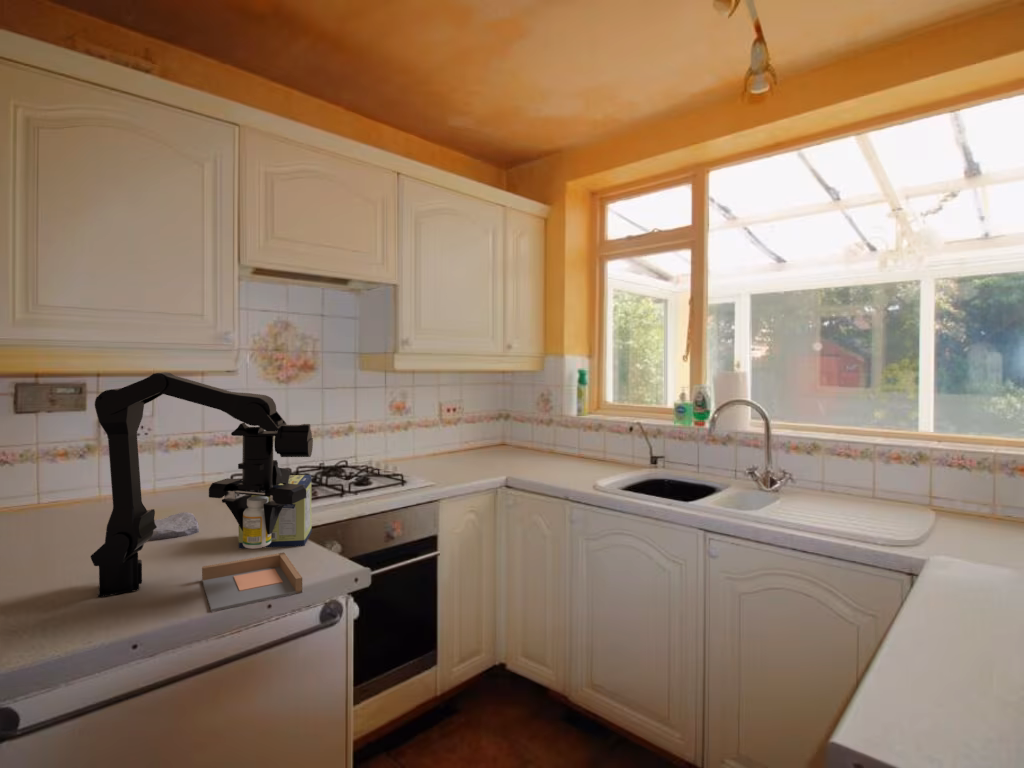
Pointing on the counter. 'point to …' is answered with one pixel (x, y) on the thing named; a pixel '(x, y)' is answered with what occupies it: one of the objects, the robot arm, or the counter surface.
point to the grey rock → (175, 526)
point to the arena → (250, 581)
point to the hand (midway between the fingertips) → (257, 532)
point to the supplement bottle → (255, 523)
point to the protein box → (291, 518)
